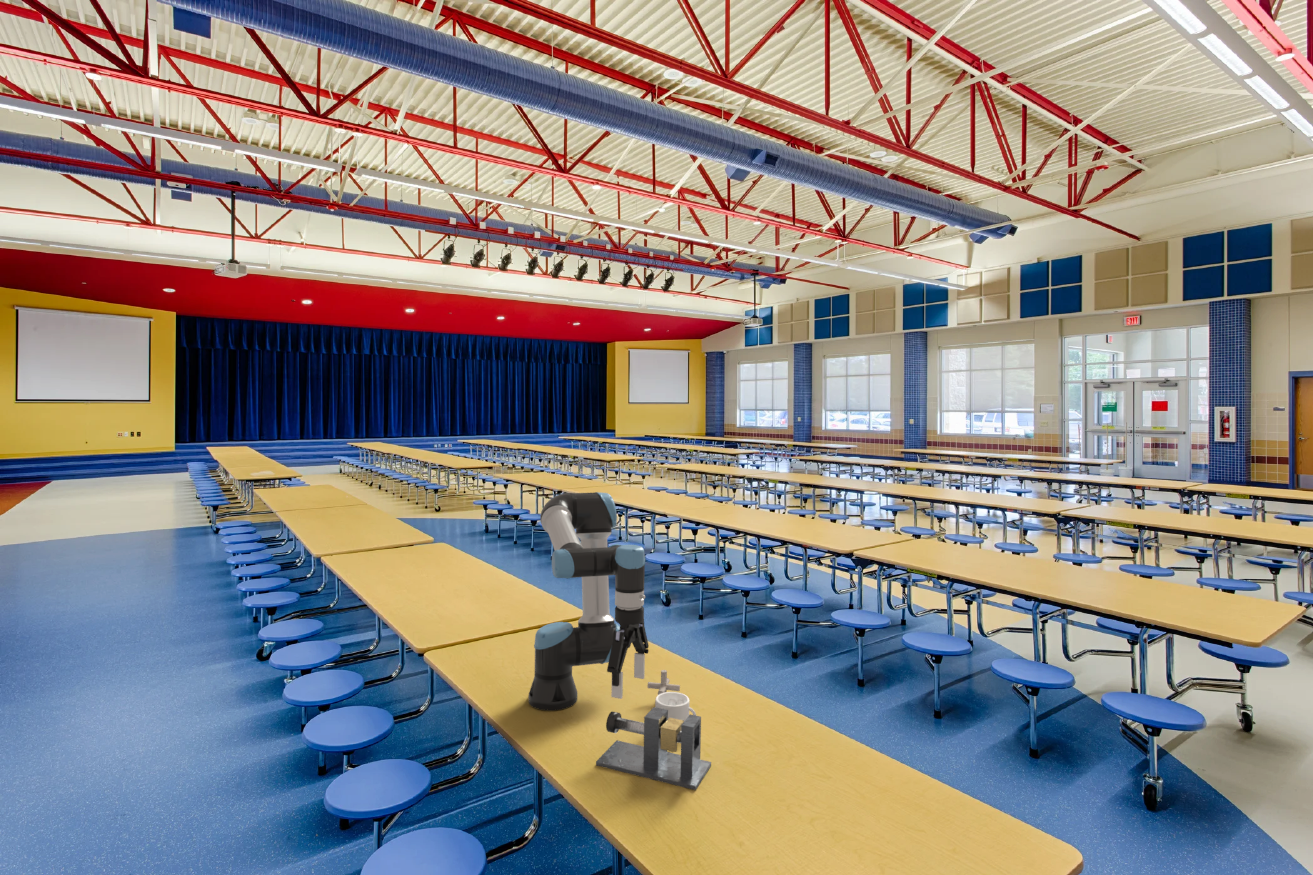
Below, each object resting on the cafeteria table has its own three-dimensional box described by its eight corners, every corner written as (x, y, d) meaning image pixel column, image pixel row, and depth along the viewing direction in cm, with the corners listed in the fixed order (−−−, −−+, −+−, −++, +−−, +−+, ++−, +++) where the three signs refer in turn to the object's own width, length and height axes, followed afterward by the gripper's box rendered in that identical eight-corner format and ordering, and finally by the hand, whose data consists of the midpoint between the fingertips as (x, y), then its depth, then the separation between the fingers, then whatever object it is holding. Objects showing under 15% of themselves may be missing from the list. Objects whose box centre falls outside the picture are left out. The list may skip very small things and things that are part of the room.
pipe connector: (676, 711, 199) (677, 678, 199) (644, 707, 201) (644, 675, 201) (681, 697, 209) (682, 666, 208) (651, 694, 211) (651, 663, 210)
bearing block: (595, 765, 168) (596, 712, 167) (616, 743, 179) (617, 694, 178) (695, 790, 157) (696, 734, 157) (711, 765, 168) (712, 713, 168)
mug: (701, 725, 190) (701, 694, 190) (691, 742, 180) (691, 709, 180) (662, 718, 194) (662, 688, 194) (650, 734, 184) (650, 702, 184)
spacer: (660, 748, 164) (660, 727, 164) (669, 738, 169) (669, 717, 169) (675, 752, 163) (675, 730, 162) (683, 741, 168) (684, 720, 168)
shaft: (606, 734, 170) (606, 716, 170) (614, 726, 175) (614, 708, 175) (689, 754, 162) (689, 734, 161) (696, 744, 166) (696, 725, 166)
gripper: (621, 621, 157) (620, 709, 157) (661, 595, 180) (660, 672, 180) (593, 617, 159) (592, 703, 160) (636, 592, 182) (635, 668, 183)
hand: (628, 687), depth 170 cm, fingers open, 13 cm apart
